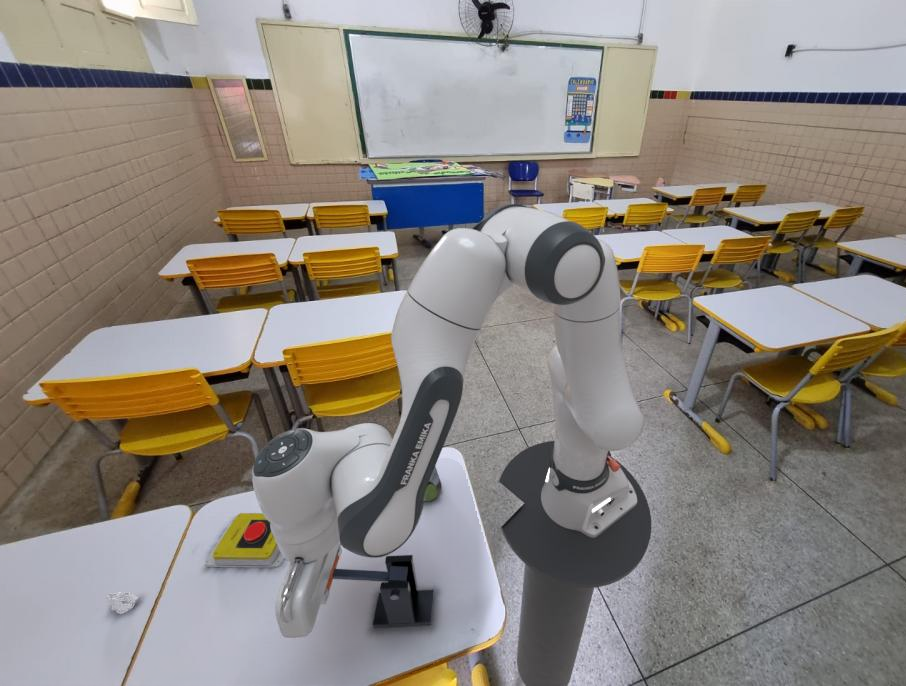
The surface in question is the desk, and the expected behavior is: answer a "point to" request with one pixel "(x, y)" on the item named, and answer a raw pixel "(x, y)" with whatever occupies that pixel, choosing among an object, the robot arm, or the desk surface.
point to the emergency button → (246, 544)
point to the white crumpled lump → (118, 600)
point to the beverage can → (433, 486)
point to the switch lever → (367, 574)
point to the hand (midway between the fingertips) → (329, 576)
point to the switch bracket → (403, 599)
